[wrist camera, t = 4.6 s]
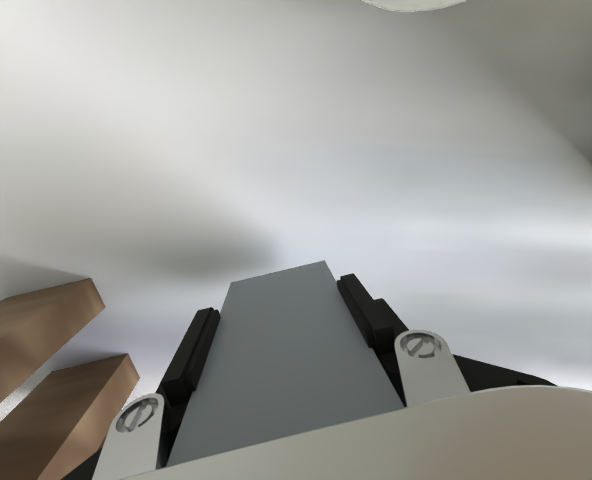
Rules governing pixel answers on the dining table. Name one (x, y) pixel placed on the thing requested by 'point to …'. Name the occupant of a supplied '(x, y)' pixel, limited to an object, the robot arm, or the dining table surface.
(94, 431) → the walnut domino
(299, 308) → the slate domino
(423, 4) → the lidded bowl
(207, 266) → the dining table surface
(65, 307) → the walnut domino
